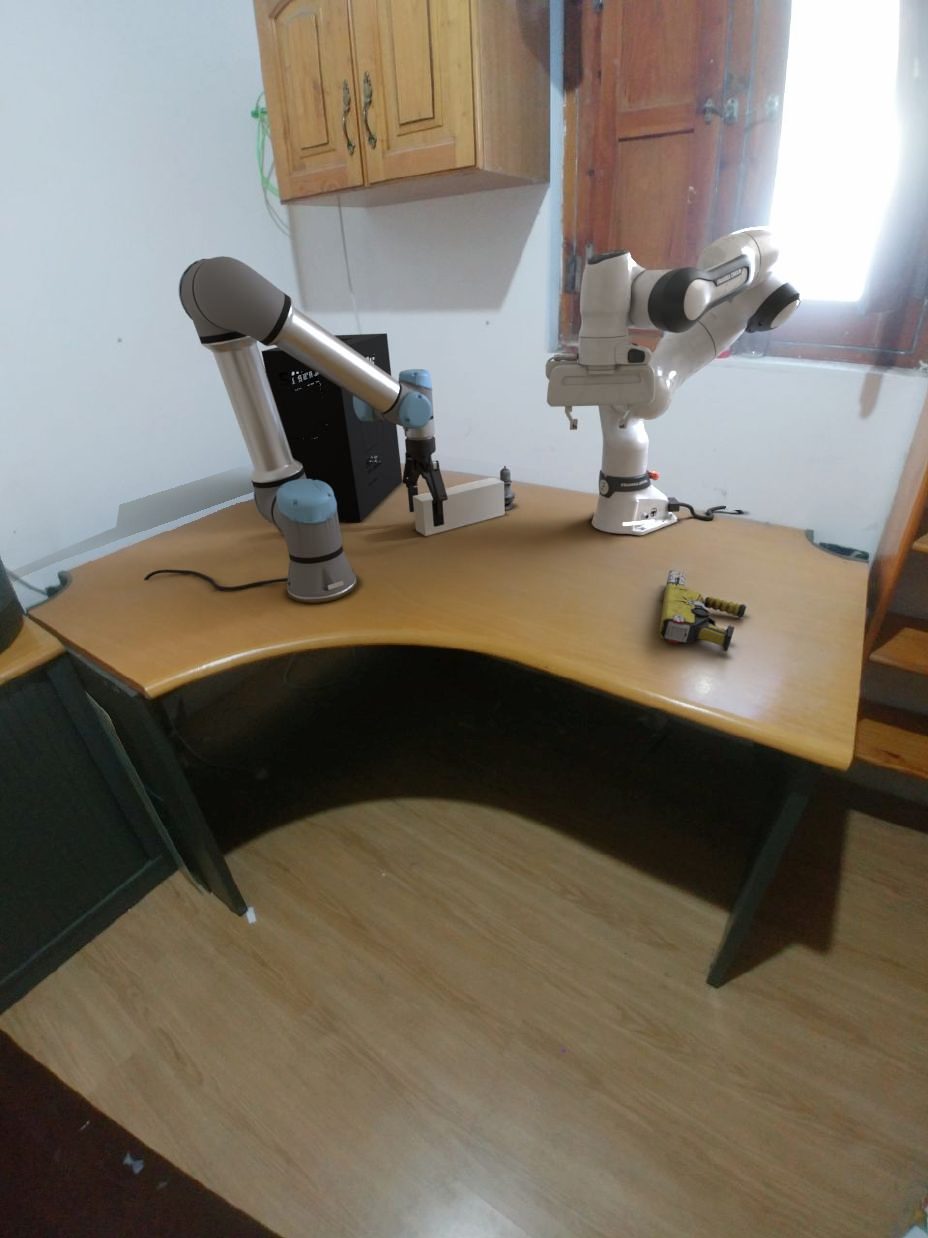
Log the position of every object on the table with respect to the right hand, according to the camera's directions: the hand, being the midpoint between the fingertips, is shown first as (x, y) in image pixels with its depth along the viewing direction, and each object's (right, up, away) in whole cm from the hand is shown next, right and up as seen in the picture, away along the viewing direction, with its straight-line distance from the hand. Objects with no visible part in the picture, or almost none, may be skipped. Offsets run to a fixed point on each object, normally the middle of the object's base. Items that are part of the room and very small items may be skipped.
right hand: (597, 428), depth 119 cm
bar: (-27, -11, +48) cm, 56 cm away
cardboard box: (-61, 0, +69) cm, 92 cm away
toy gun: (+19, -38, -3) cm, 42 cm away
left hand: (-36, -11, +41) cm, 56 cm away
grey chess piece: (-14, -5, +56) cm, 58 cm away
